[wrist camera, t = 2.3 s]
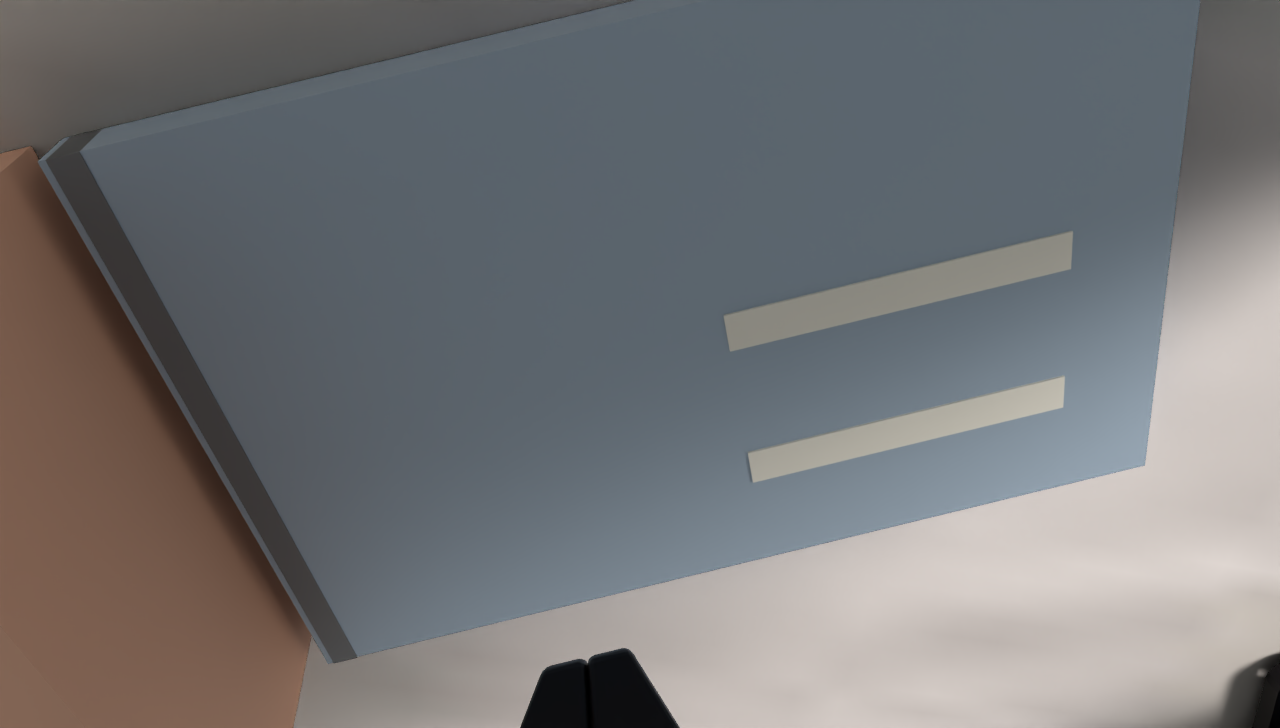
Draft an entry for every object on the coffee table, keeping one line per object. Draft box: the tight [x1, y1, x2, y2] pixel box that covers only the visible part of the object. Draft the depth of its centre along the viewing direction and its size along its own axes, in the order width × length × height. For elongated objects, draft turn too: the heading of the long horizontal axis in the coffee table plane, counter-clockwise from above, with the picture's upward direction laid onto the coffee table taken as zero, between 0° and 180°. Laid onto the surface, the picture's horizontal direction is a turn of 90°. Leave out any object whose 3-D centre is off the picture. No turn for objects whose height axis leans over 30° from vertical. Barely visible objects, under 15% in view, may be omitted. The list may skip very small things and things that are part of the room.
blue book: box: [38, 0, 1200, 664], centre depth 14 cm, size 14×9×1 cm, turn 101°
